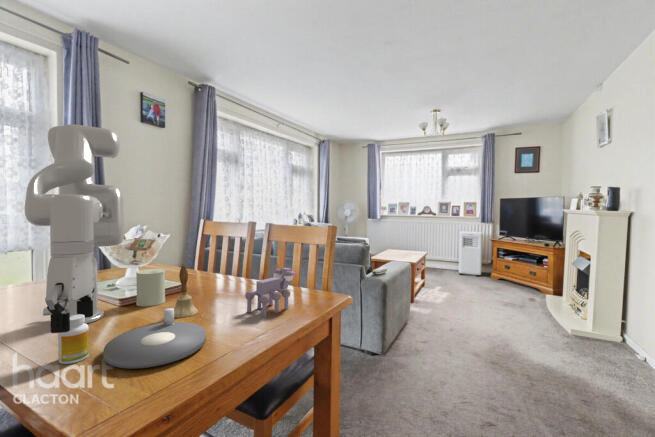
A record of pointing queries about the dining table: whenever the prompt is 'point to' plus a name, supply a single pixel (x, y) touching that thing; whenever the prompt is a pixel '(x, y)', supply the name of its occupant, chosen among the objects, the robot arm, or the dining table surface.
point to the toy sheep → (271, 290)
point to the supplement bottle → (74, 341)
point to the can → (150, 287)
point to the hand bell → (184, 298)
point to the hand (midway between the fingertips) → (73, 324)
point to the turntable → (155, 344)
